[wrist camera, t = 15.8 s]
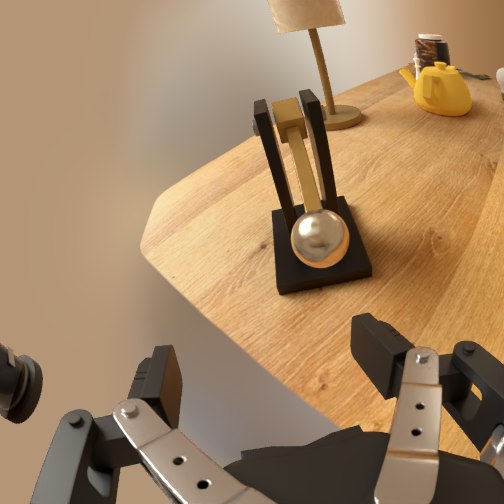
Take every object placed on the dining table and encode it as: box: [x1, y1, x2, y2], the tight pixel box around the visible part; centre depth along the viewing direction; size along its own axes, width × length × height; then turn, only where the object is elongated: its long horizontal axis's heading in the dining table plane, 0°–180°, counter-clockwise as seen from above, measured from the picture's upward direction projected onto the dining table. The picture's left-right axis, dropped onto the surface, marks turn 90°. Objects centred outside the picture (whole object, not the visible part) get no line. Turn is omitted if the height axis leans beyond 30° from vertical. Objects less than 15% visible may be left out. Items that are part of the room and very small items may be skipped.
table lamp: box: [268, 0, 361, 131], centre depth 46 cm, size 13×13×30 cm
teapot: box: [399, 62, 472, 116], centre depth 48 cm, size 20×18×11 cm
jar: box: [415, 34, 451, 73], centre depth 66 cm, size 12×12×15 cm
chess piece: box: [413, 53, 421, 80], centre depth 62 cm, size 5×5×10 cm
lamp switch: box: [271, 97, 349, 268], centre depth 20 cm, size 14×4×4 cm, turn 0°
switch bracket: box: [252, 89, 372, 295], centre depth 26 cm, size 12×9×16 cm
